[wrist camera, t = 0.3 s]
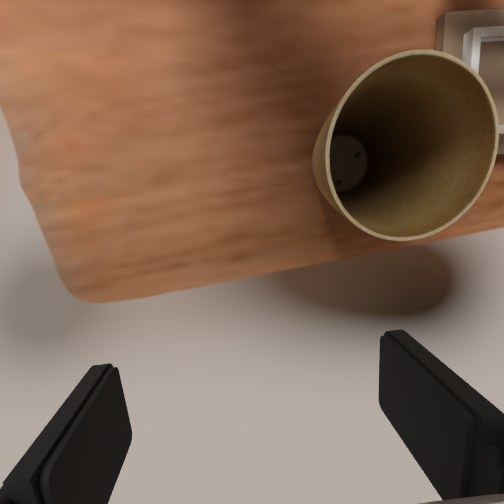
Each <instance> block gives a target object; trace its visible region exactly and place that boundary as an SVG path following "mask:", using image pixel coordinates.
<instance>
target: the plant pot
mask: <svg viewBox="0 0 504 504" xmlns="http://www.w3.org/2000/svg"><path fill="white" fill-rule="evenodd" d="M498 143H499V123H498V116H497V111H496V107H495V104H494V101H493V98H492V96H491V94H490V92H489V90H488V88H487V86H486V84H485V83H484V81H483V80H482V78H481V77H480V76H479V75H478V74H477V73H476V72H475V70H474V69H472V68H471V67H470V66H469V65H467V64H466V63H465V62H463V61H461V60H460V59H458V58H456V57H454V56H452V55H449V54H447V53H444V52H440V51H435V50H422V49H421V50H410V51H406V52H401V53H398V54H395V55H392V56H390V57H387V58H385V59H383V60H382V61H380V62H378V63H377V64H375V65H374V66H372V67H371V68H369V69H368V70H367V71H366V72H365V73H363V74H362V75H361V76H360V77H359V78H358V79H357V80H356V81H355V82H354V83H353V84H352V86H351V87H350V88H349V89H348V90H347V91H346V93H345V94H344V95H343V97H342V98H341V99H340V100H339V102H338V103H337V105H336V106H335V107H334V109H333V110H332V112H331V113H330V115H329V116H328V118H327V120H326V121H325V123H324V125H323V127H322V129H321V131H320V133H319V136H318V138H317V140H316V143H315V146H314V150H313V155H312V172H313V176H314V180H315V182H316V185H317V187H318V188H319V190H320V192H321V193H322V195H323V196H324V198H325V199H326V200H327V201H328V202H329V204H330V205H331V206H332V207H333V208H334V209H335V210H336V211H338V212H339V213H340V214H341V215H342V216H343V217H345V218H346V219H347V220H348V221H350V222H351V223H352V224H354V225H355V226H357V227H358V228H360V229H361V230H363V231H364V232H366V233H368V234H370V235H373V236H375V237H378V238H382V239H386V240H392V241H410V240H416V239H421V238H424V237H427V236H431V235H433V234H435V233H438V232H440V231H441V230H443V229H445V228H447V227H448V226H450V225H451V224H453V223H454V222H455V221H457V220H458V219H459V218H460V217H461V216H462V215H463V214H464V213H465V212H467V210H468V209H469V208H470V207H471V206H472V205H473V204H474V202H475V201H476V199H477V198H478V197H479V195H480V194H481V192H482V191H483V189H484V187H485V185H486V183H487V181H488V179H489V177H490V174H491V172H492V169H493V166H494V163H495V159H496V155H497V150H498ZM357 153H358V155H357V156H356V154H357ZM339 181H341V184H340V185H339V184H338V182H339Z"/></svg>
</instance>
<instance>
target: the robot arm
mask: <svg viewBox="0 0 504 504" xmlns="http://www.w3.org/2000/svg"><path fill="white" fill-rule="evenodd" d="M379 403H380V406H381V409H382V411H383V412H384V414H385V415H386V417H387V418H388V420H389V421H390V422H391V424H392V426H393V427H394V429H395V430H396V431H397V433H398V434H399V436H400V437H401V439H402V440H403V442H404V443H405V445H406V446H407V448H408V449H409V451H410V452H411V454H412V455H413V457H414V458H415V460H416V461H417V462H418V464H419V466H420V467H421V468H422V470H423V471H424V473H425V474H426V476H427V477H428V479H429V480H430V482H431V483H432V485H433V486H434V488H435V489H436V490H437V492H438V494H439V495H440V497H441V498H442V501H435V502H427V503H421V504H504V414H503V413H502V412H501V411H500V410H499V409H498V408H496V407H495V406H494V405H493V404H492V403H490V402H489V401H488V400H487V399H486V398H484V397H483V396H482V395H481V394H479V393H478V392H477V391H476V390H475V389H474V388H472V387H471V386H470V385H469V384H468V383H466V382H465V381H464V380H463V379H462V378H460V377H459V376H458V375H457V374H456V373H454V372H453V371H452V370H451V369H450V368H448V367H447V366H446V365H445V364H444V363H442V362H441V361H440V360H439V359H438V358H437V357H435V356H434V355H433V354H432V353H431V352H429V351H428V350H427V349H426V348H425V347H423V346H422V345H421V344H420V343H418V342H417V341H416V340H415V339H414V338H413V337H411V336H410V335H409V334H408V333H407V332H405V331H404V330H393V331H386V332H385V334H384V336H381V338H380V364H379ZM131 440H132V429H131V425H130V421H129V416H128V411H127V407H126V402H125V398H124V393H123V389H122V384H121V379H120V375H119V370H118V368H116V367H114V368H113V366H112V364H103V365H94V366H92V367H91V368H90V369H89V370H88V372H87V373H86V374H85V376H84V377H83V378H82V379H81V381H80V382H79V383H78V385H77V386H76V387H75V389H74V390H73V391H72V393H71V394H70V396H69V397H68V398H67V399H66V400H65V402H64V403H63V405H62V406H61V407H60V408H59V410H58V411H57V412H56V414H55V415H54V416H53V417H52V419H51V420H50V422H49V423H48V424H47V425H46V427H45V428H44V429H43V431H42V432H41V433H40V435H39V436H38V437H37V438H36V440H35V441H34V442H33V444H32V445H31V446H30V448H29V449H28V450H27V452H26V453H25V454H24V456H23V457H22V458H21V459H20V461H19V462H18V463H17V465H16V466H15V467H14V469H13V470H12V471H11V473H10V474H9V475H8V477H7V478H6V479H5V480H4V482H3V486H2V488H1V489H0V504H108V502H109V499H110V496H111V494H112V491H113V489H114V486H115V483H116V481H117V478H118V476H119V473H120V470H121V468H122V465H123V463H124V460H125V457H126V454H127V452H128V449H129V447H130V444H131Z"/></svg>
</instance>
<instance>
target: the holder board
mask: <svg viewBox="0 0 504 504" xmlns="http://www.w3.org/2000/svg"><path fill="white" fill-rule="evenodd" d="M435 51H440V52H444V53H447V54H449V55H452V56H454V57H456V58H458V59H460V60H461V61H463V62H465V63H466V64H467V65H469V66H470V67H471V68H472V69H474V70H475V72H476V73H477V74H478V75H479V76H480V77H481V78H482V80H483V81H484V83H485V84H486V86H487V88H488V90H489V92H490V94H491V96H492V98H493V101H494V104H495V107H496V111H497V116H498V123H499V143H498V150H497V155H500V154H504V8H497V9H481V10H466V11H451V12H445V13H443V14H442V15H441V16H440V17H438V18H437V21H436V41H435Z"/></svg>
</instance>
